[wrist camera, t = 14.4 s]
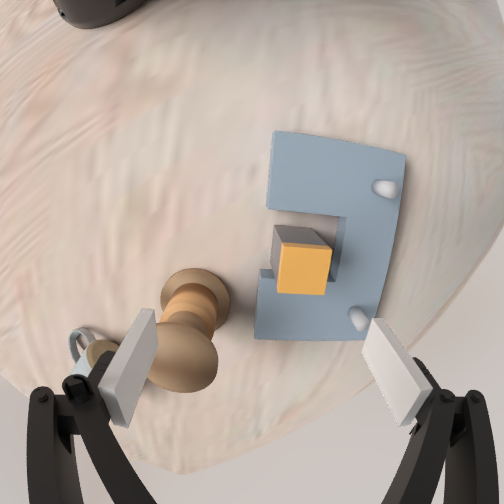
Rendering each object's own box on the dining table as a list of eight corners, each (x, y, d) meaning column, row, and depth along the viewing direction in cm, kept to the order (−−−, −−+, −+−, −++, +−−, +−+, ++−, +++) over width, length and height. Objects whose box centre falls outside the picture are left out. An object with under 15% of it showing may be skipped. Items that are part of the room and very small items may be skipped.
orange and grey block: (274, 224, 30) (283, 246, 22) (310, 228, 30) (332, 250, 22) (270, 261, 31) (277, 292, 23) (306, 263, 31) (324, 295, 23)
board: (272, 133, 27) (278, 126, 22) (394, 155, 27) (421, 155, 22) (253, 327, 33) (255, 354, 28) (361, 329, 34) (376, 353, 29)
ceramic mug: (143, 357, 35) (125, 395, 27) (122, 385, 36) (105, 420, 29) (82, 311, 33) (53, 341, 25) (67, 345, 35) (43, 374, 27)
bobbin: (161, 265, 31) (123, 316, 20) (232, 271, 31) (225, 328, 20) (164, 325, 33) (136, 388, 22) (228, 332, 33) (222, 400, 22)
